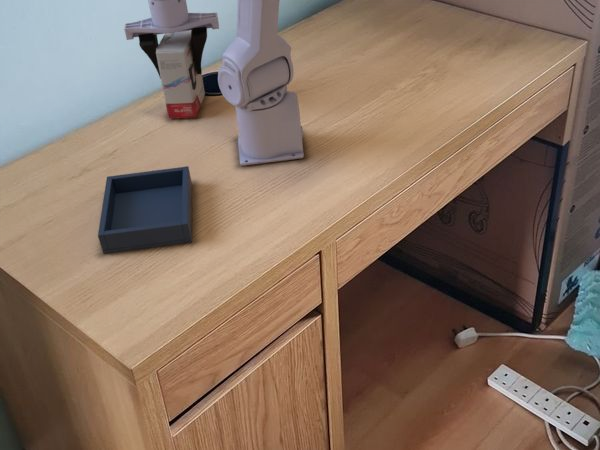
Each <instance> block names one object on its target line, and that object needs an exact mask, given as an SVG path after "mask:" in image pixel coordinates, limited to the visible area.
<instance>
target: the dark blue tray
mask: <svg viewBox="0 0 600 450" xmlns="http://www.w3.org/2000/svg"><path fill="white" fill-rule="evenodd" d="M102 199H103V200H102V205H101V211H100V217H99V218H100V219H99V225H98V231H97V239H98V240H99V245H100V248H101V250H102V254H104V255H105V254H111V253H119V252H127V251H135V250H142V249H149V248H151V249H152V248H159V247H166V246H174V245H182V244H187V243H192V242H193V182H192V177H191V172H190V167H189V166H181V167H180V166H179V167H172V168H165V169H155V170H149V171H140V172H132V173H124V174H118V175H117V174H116V175H110V176H106V181H105V186H104V193H103V198H102Z"/></svg>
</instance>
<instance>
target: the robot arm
mask: <svg viewBox="0 0 600 450" xmlns="http://www.w3.org/2000/svg"><path fill="white" fill-rule="evenodd" d="M147 1H148V2H147V3H148V7H149V12H150V17H149V18H145V19H141V20H137V21H133V22H127V23H126V22H125V23H124V27H123V30H124V34H125V39H126V40H127V41H129V40H130V41H131V40H134V39H135V38H138V41H139V43H138V45H139V48H140V49H141V50H142V51H143V53H144V54H145V55H146V56H147V57H148V59H149V60H150V61H151V63H152V64H153V66H154V69H156V72H157V74H158V76H159V80H161V77H160V71H159V66H158V61H157V56H156V48H157V47H158V45H159V40H158V35H164V34H166V33H174V32H182V31H191V40H192V44H193V49H194V54H195V61H196V71H197V74H202V75H203V73H202V61H203V60H202V59H203V53H204V49H205V46H206V43H207V38H208V29H211V30H219V29H220V22H219V16H218V15H219V14H218V12H189V9H188V3H187V0H147ZM279 12H280V0H237V13H236V35H235V38H234V39H233V41H231V43H230V44H229V46H228V47H227V48H226V50H225V51H224V52H223V53H222V62H221V66H220V67H219V69H218V72H217V83H218V84H217V85H218V87H219V90H220V93H221V94H222V96H223V98H224V99H225V100H226V101H227V102H228V103H229V104H230V105H232V106H234V109H235V110H234V111H235V116H236V122H237V129H238V137H237V144H238V146H237V147H238V157H239V164H240V166H242V167H243V166H250V165H251V166H252V165H261V164H267V163H274V162H275V163H276V162H283V161H284V162H285V161H290V160H298V159H304V158H305V154H304V147H303V146H304V143H303V138H304V130H303V126H302V124H301V123H302V122H301V114H300V113H301V112H300V105H299V100H298V94H297V92H296V91H288V85H289V84H291V82H292V81H293V79H294V65H293V61H292V56H291V55H292V47H291V45H290V44H289V43H288V42H287V40H286V39H284V38H283V36H281V35H279V34H278V25H279Z"/></svg>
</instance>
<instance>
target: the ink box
mask: <svg viewBox="0 0 600 450" xmlns="http://www.w3.org/2000/svg"><path fill="white" fill-rule="evenodd" d="M156 56H157V61H158V66H159V71H160V76H159V78H160V77H161V79H160V82H161V86H162V92H163V97H164V102H165V107H166V113H167V118H168V119H186V118H187V119H188V118H196V117H197V115H198V113H199V110H200V108H201V105H202V103H203V100H204V98H205V96H206V92H205V85H204V80H203V73H202V74H197V71H196V61H195V54H194V49H193V44H192V40H191V30H190V31H182V32H174V33H166V34H163V36H162V38H161V40H160V41H159V42H158V47H157V48H156Z"/></svg>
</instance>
